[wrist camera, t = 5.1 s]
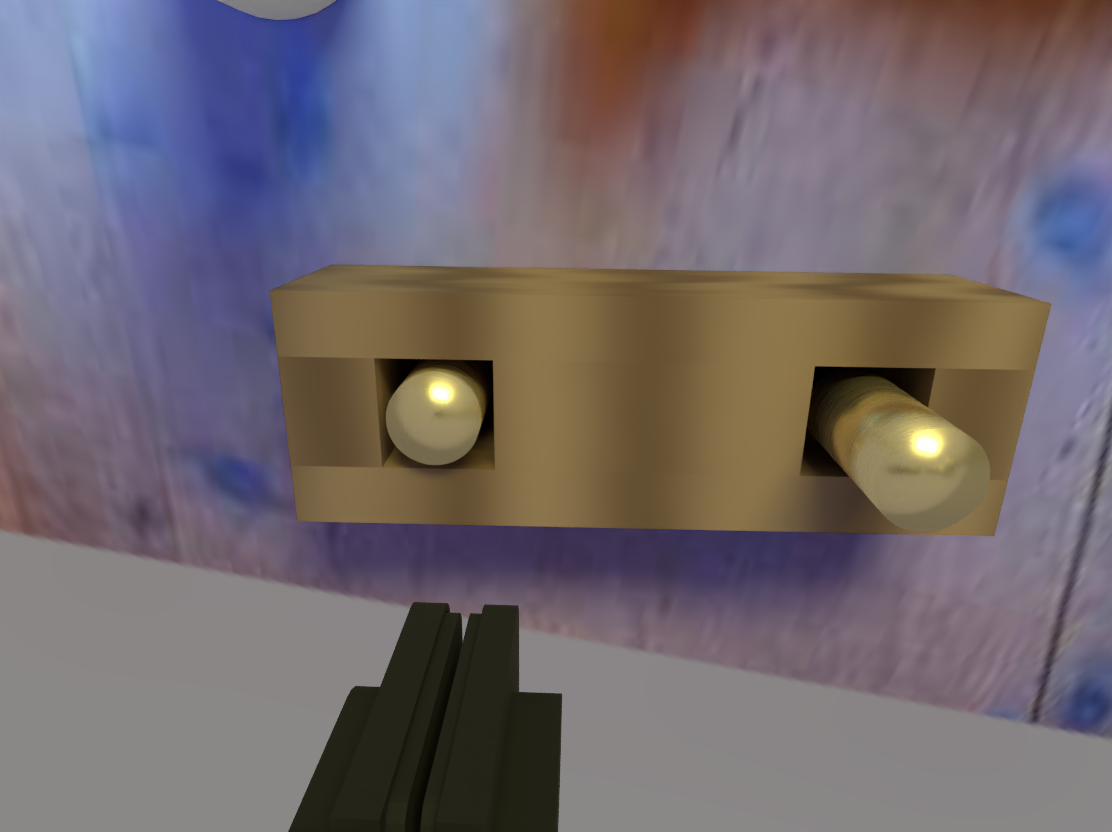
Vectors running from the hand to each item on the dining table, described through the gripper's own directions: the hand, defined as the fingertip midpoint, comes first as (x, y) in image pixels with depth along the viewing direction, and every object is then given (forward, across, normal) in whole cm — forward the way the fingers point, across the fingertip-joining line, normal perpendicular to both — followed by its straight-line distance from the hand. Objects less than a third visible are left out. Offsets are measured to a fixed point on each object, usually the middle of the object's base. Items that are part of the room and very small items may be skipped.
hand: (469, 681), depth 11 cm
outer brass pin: (+18, +3, 0) cm, 18 cm away
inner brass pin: (+14, -11, 0) cm, 18 cm away
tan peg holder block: (+19, -4, 0) cm, 19 cm away
